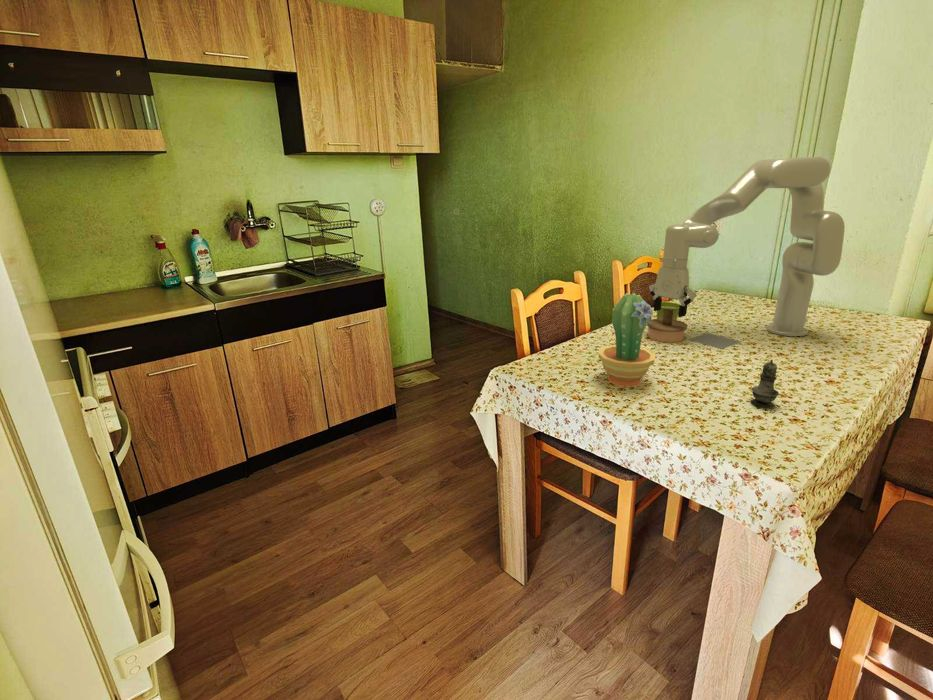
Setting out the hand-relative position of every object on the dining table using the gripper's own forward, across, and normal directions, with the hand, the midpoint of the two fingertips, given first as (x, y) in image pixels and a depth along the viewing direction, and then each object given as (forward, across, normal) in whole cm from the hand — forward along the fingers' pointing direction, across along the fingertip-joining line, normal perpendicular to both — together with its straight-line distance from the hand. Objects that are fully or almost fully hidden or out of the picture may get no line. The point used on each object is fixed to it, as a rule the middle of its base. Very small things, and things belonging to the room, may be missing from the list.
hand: (669, 313), depth 165 cm
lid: (+4, 0, 0) cm, 5 cm away
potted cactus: (+9, +15, -39) cm, 43 cm away
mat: (+10, +12, +10) cm, 18 cm away
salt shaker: (+10, +45, -23) cm, 51 cm away
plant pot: (+10, -9, +13) cm, 18 cm away
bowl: (+10, 0, 0) cm, 10 cm away
